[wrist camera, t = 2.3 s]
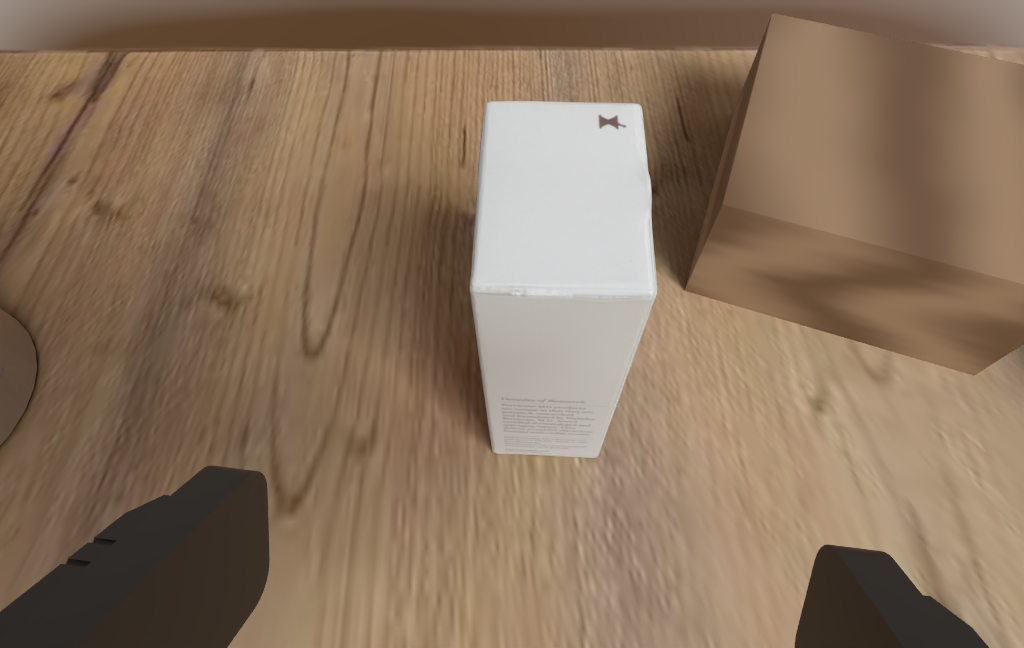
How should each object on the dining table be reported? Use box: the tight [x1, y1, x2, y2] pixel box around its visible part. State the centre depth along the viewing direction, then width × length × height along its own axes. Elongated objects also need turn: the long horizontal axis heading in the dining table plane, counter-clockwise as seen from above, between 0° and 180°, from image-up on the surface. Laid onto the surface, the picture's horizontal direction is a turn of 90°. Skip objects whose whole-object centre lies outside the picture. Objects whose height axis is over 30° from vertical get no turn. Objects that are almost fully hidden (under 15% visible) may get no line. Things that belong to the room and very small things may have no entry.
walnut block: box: [685, 13, 1024, 375], centre depth 26 cm, size 12×12×6 cm
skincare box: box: [469, 101, 657, 458], centre depth 19 cm, size 6×4×12 cm
